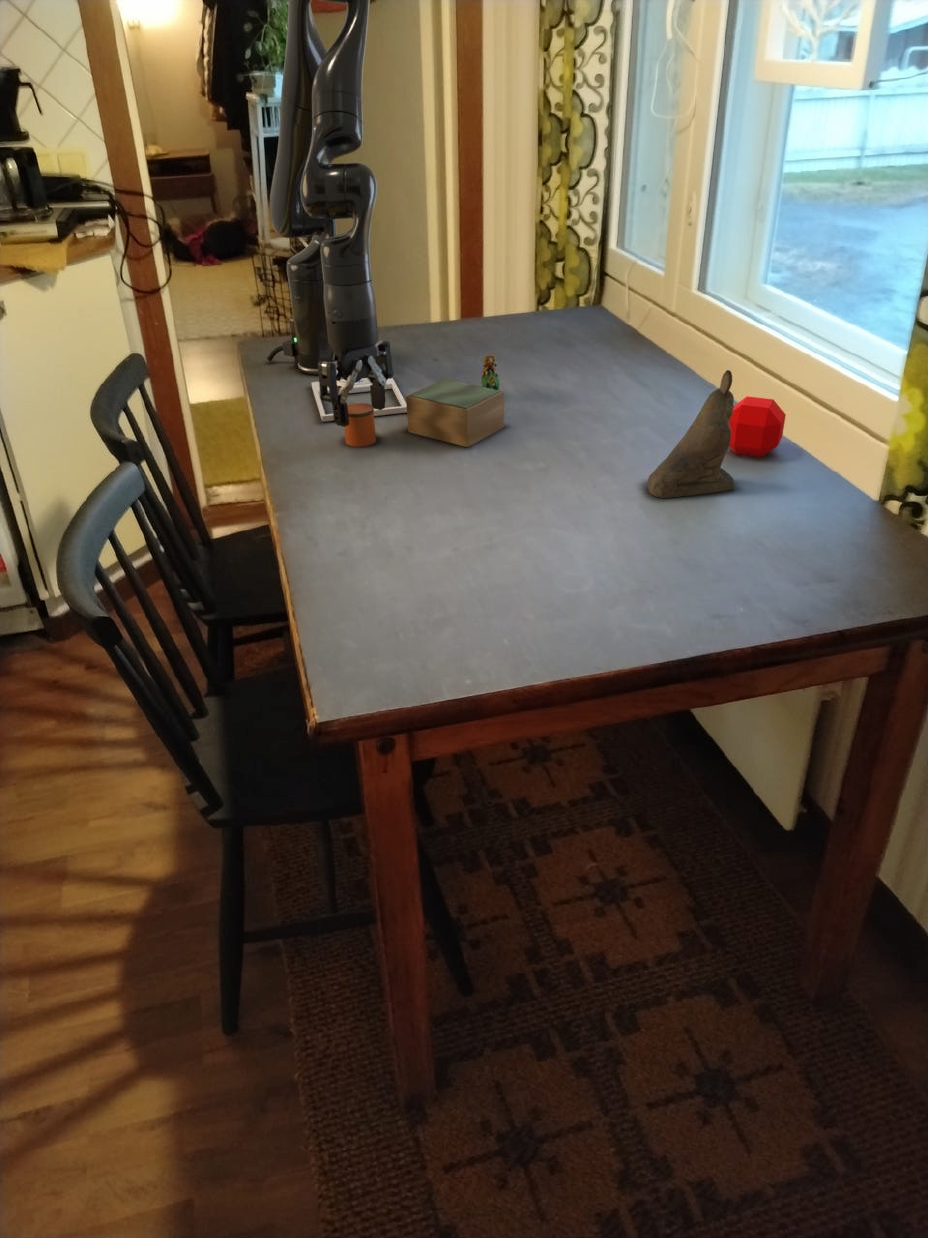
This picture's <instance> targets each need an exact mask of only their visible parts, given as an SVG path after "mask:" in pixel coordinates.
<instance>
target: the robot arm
mask: <svg viewBox="0 0 928 1238" xmlns="http://www.w3.org/2000/svg"><path fill="white" fill-rule="evenodd" d="M312 1H313V0H288V1H287V2H288V3H287V5H288V6H287V33H286V44H285V55H284V64H283V72H282V81H281V90H280V91H281V92H280V105H279V106H280V110H279V131H278V142H277V143H278V144H277V151H276V159H275V163H274V170H273V175H272V181H271V188H270V196H269V216H270V221H271V224H272V227H273V230H274V232H275V233H276V234H277V235H278V236H279V237H281V238H284V239H297V238H305V237H311V240H310V242H309V243H308V245H307V246H306V247H304V249H302V250H301V251H299V252H298V253H296V254H294V255H293V256H291V257H289V259H288V260H287V261H286V273H287V279H288V289H289V296H290V304H291V312H292V316H290V317H289V326H290V327H289V328H290V334H291V335H290V336H291V338H290V339H288V340H285V341H283V342H282V345H280V346H277V347H275V348H274V349H273V350H272V351H270V352H269V354H268V356H267V357H266V360H267V361H268V362H271V361H273V359H274V358H275V356H276V355H277V354H278V353H280V352H283V355H284V356H287V357H291V358H293V361H294V366H295V368H296V369H298V371H300V372H301V373H304V374H307V375H317V376H318V382H319V386H320V396H319V397H320V400H321V401H323V402H328V403H331V405H332V414H333V415H334V420H333V421H334V423H335V424H336V425H337V426H339V427H346V426H348V425H349V416H348V407H347V405H348V402H347V398H348V396H349V394H350V393H349V391H350V390H352V389H353V386H354V384H355V383H356V382H358V381H360V380H361V379H362V378H367V379H368V380H369V381H370V383H372V385H370V391H369V392H370V401H371V405H372V406H373V407H374V409H378V410H382V409H384V408H386V389H385V387H384V386H385V385H386V381H387V380H388V379H391V378H393V377H394V368H393V360H392V352H391V344H390V342H389V341H387V340H381V339H379V328H378V327H379V326H378V317H377V315H378V314H377V303H376V293H375V289H374V284H373V279H372V278H373V277H372V267H371V266H372V265H371V264H372V263H371V249H370V245H371V233H372V224H373V218H374V213H375V209H376V202H377V196H378V181H377V178H376V175H375V173H374V171H373V170H372V169H371V168H370V167H369V165H367V164H365V163H364V162H363V163H362V162H347V163H343V162H342V163H333V162H334V161H336V159H338V158H341V157H343V156H346V155H350V154H353V153H355V152H356V151H358V150H359V149H360V148H361V147H362V145H363V142H364V101H363V85H364V84H363V83H364V82H363V81H364V66H365V57H366V50H367V49H366V48H367V38H368V27H369V15H370V2H371V0H319V1H320V2H327V3H334V4H340V5H346V13H345V18H344V21H343V25H342V27H341V29H340V31H339V33H338V35H337V36H336V38H335V40H334V41H333V43H332V44H331V46H330V48H329V49H328V47H327V46H326V44H325V42H324V40H323V38H322V36H321V34H320V32H319V28H318V26H317V23H316V20H315V17H314V14H313V10H312V4H311V3H312ZM344 219H346V220H348V219H352V220H353V224H352V227H351V228H350V230H348V231H346V232H344V233H340V234H338V233H337V220H344ZM341 379H344V380H346V382H342V381H340V380H341ZM327 387H329V393H328V388H327ZM340 388H342V390H341V393H340V394H338V392H339V390H340Z"/></svg>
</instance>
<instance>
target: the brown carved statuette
mask: <svg viewBox="0 0 928 1238" xmlns="http://www.w3.org/2000/svg"><path fill="white" fill-rule="evenodd" d="M732 384H733V373H732V371H731V370H729V369H727V370H726V371H725V372H724V373H723V375H722V377H721V381H720V383H719V385H720V386H719V388H717V389H715V390H714V391H712V392H711V393H710V394H709V395H708V397H707V398H706V400H705V401H704V403H703V405H702V406H701V408H700V410H699V412H698V413H697V415H696V417H695V419H694V421H693V422H692V424H691V425H690V426H689V428H688V429H687V431H686V432H685V434H684V435H683V437H682V438H681V439H680V441H678V443H676V445H675V447H673V449H672V450H671V451H670V453H669V454H668V455H667V457H666V458H665V459H664V460H663V461H662V462H661V463H660V464H659V465H658V466H656V469H655V470H654V471H652V472H651V473H650V475H649V476H648V478H647V490H648V492H649V493H650V495H652V496H653V497H656V498H660V499H662V498H663V499H669V498H680V497H687V496H689V497H690V496H697V495H703V494H704V495H705V494H707V495H708V494H711V493H718V492H724V491H731V490H735V486H734V485H735V480H734V477H733V476H732V475H731V474H730V473H728V472H727V470H725V469H724V468H723V467H722V464H723V461H724V460H725V459H724V458H725V457H726V454H727V452H728V450H729V448H730V446H729V445H730V440H731V429H730V424H729V421H730V418H731V416H732V413H733V409H734V406H735V405H734V400H735V397H734V393H732V392H731V391H730V389H731V387H732Z"/></svg>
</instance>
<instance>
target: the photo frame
mask: <svg viewBox="0 0 928 1238" xmlns="http://www.w3.org/2000/svg"><path fill="white" fill-rule="evenodd" d="M340 381H342V382H346V380H344V379H343V378H341V380H340ZM370 385H372V383H370V381H369V380H368V379H367V378H362V379H361V380H360V381H358V382H356V383H355V384H354V386H353V389H352V390H350V391H349V393H348V394H356V393H365V392H371V391H370ZM384 387H385V390H392V391H393V393H394V394H395V397H396V399H397V401H398V402H399V405H400V406H391V407H390V406H389V407H385V408H384V409H382V410H378V409H374V417H379V416H386V415H387V416H388V415H395V414H396V415H397V414H402V413H403V414H404V413H407V404H406V399H405V398H404V397H403V394H402V393H401V391H400V389H399V387H398V385H397V383H396V382H395V379H394V378H393V377H392V378H391V379H388V380H387V381H386V385H385V386H384ZM327 388H328V393H329V387H327ZM311 389H312V393H313V395H314V400H315V403H316V405H317V409H318V412H319V415H320V419H321V422H332V421H334V415H333V414H334V413H327V414H326V412H325V409H324V406H323V403H322V400H321V398H320V386H319V381H312V382H311ZM341 390H342V388H340V390H339V392H338V395H340V393H341Z"/></svg>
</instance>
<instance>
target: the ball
mask: <svg viewBox="0 0 928 1238" xmlns="http://www.w3.org/2000/svg"><path fill="white" fill-rule="evenodd" d="M782 409H783V408H781V407H780V406H779V404H777V401H775V399H773V398H765V397H757V396H756V397H755V396H749V395H748V396H745V397H744V398H743V399H741V400H740V401H739V402H737V403H736V404H735V405H734V409H733V413H732V416H731V418H730V421H729V424H730V429H731V440H730V445H729V448H730V449H731V450H732V451H733V453H734V454H736V455H742V456H749V457H750V456H751V457H757V458H762V457H764V456H765V455H767V454H768V453H770V452H771V451H773V450H775V449H776V448H777V447H779V444H780V442H781V440H782V438H783V434H784V428H785V421H786V415H787V414H786V413H785V412H784V410H782Z"/></svg>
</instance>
